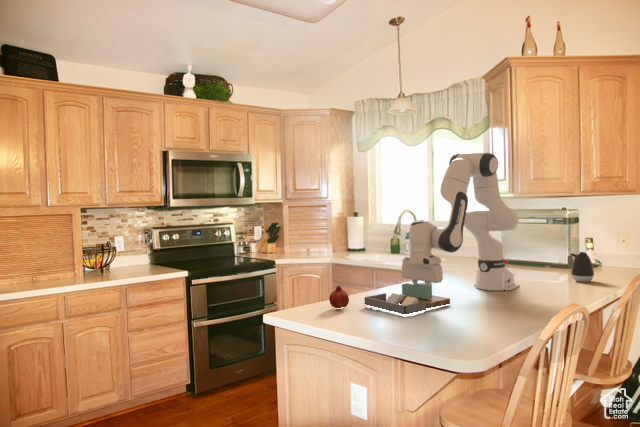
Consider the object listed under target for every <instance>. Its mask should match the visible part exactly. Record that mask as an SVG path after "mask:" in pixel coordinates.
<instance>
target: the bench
mask: <svg viewBox="0 0 640 427" xmlns="http://www.w3.org/2000/svg"><path fill="white" fill-rule="evenodd" d="M399 295H401V296H402V297H403V299H402V301H401V302H400V304H402V302H403V301H404V300H405V299H406V297H407V295H402V293H401V294H399ZM389 297H390V296H387V299H388V298H389ZM409 297H412V296H409ZM414 298H417V297H414ZM417 300H418V301H419V302H424V301H425V302H426V308H431V307H436V306H441V305H446V304H450V305H451V298H450V297H444V296H438V295H433V294H432V299H422V298H417ZM419 302H418V303H419Z"/></svg>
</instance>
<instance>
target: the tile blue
mask: <svg viewBox="0 0 640 427" xmlns="http://www.w3.org/2000/svg"><path fill="white" fill-rule="evenodd" d="M388 297H389V298H388ZM388 297H387V298H386V302H391V303H395V304H399V303H400V302H401V301H402V299H403V297H402V296H401V295H400V294H398V293H391V295H390V296H388Z"/></svg>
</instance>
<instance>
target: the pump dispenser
mask: <svg viewBox="0 0 640 427" xmlns="http://www.w3.org/2000/svg"><path fill="white" fill-rule="evenodd" d="M569 255H570V256H572V257H574V258H573V260H572V264H571V270H570V274H571V277H572V279H573V280H574V281H575V282H578V283H589V282H591V281H592V280H593V278H594V276H595V269H594V266H593V262H592V260H591V258H590V257H589V255H588V254H587V253H586V252H584V251H579V252H577V253H576V254H575V253H573V252H570V253H569Z"/></svg>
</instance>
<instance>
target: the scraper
mask: <svg viewBox="0 0 640 427" xmlns="http://www.w3.org/2000/svg"><path fill="white" fill-rule="evenodd" d="M425 285H426V284H425V281H423V282H419V283H418V282H417V284H416V285H414V284H413V283H403V284H401V292H402V293H401V294H402V295H407V296H412V297H417V298H422V299H432V295H433V283H432V282H431V284H430V286H429V287H425Z"/></svg>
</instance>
